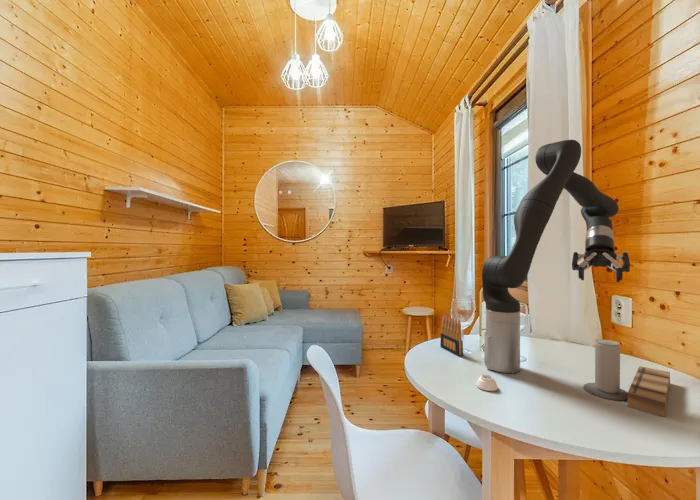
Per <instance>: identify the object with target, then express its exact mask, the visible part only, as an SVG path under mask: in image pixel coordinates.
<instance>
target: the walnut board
mask: <svg viewBox="0 0 700 500" xmlns="http://www.w3.org/2000/svg"><path fill="white" fill-rule="evenodd" d="M670 385H671V371H665V370H661V369H655V368H651V367H647V366H641V365H639V366H638V368H637V371H636V372H635V375H634V377H633V379H632V382H631V385H629V389H628V391H627V392H628V400H627V402H626V403H627V407H628V408H632V409H636V410H639V411H643V412H645V413H650V414H654V415H657V416H662V417H666V412H667V407H668V406H667V405H668V399H669V393H670V387H671V386H670Z"/></svg>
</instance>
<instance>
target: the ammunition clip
mask: <svg viewBox="0 0 700 500" xmlns="http://www.w3.org/2000/svg"><path fill="white" fill-rule="evenodd" d="M441 321H442V322H441V332H440V344H439V345H440V348H442V349H443V350H446V351H447V352H449V353H451V354H453V355H455V356H457V357H463V356H464V345H463V344H464V343H463V342H464V341H463V339H462V338H463V336H462V335H463V333H462V324H461V320H460V319H457V318H455V319H454V317H451V315H450V316H448V315H447V314H443V315H442V320H441Z"/></svg>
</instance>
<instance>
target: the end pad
mask: <svg viewBox="0 0 700 500" xmlns="http://www.w3.org/2000/svg"><path fill="white" fill-rule="evenodd" d="M583 389H584V390H585V391H586V392H587V393H589V394H591V395H593V396H596V397H599V398H602V399H606V400H610V401H616V402H625V401H628V391H627V390H625V389H624V388H623V389H622V388H620V391H619V392H618V393H617V394H609V393H605V392H602V391H600V390H598V389H597V388H596V387H595V382H587V383H585V384H584V385H583Z"/></svg>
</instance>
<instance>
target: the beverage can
mask: <svg viewBox="0 0 700 500" xmlns="http://www.w3.org/2000/svg"><path fill="white" fill-rule="evenodd" d="M594 383H595V387H596V388H597V389H598V390H600V391H602V392H605V393H609V394H617V393H618V392H619V391H620V389H621V346H620V343H619V341H615V340H611V339H602V338H601V339H600V338H599V339H595V344H594Z"/></svg>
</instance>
